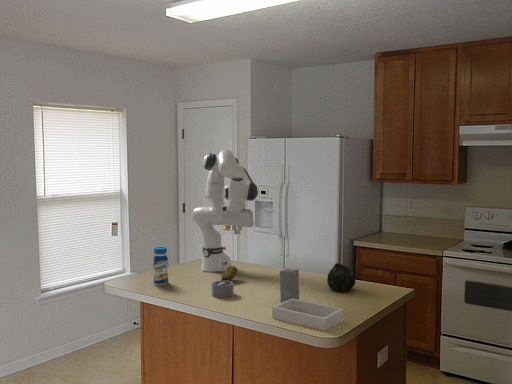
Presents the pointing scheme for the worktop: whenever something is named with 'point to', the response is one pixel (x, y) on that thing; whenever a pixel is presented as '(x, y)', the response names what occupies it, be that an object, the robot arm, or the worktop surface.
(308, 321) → the frame
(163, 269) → the beverage bottle
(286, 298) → the skincare box
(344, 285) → the squash
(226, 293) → the faceted grey cup
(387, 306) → the worktop surface
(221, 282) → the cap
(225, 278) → the potato
